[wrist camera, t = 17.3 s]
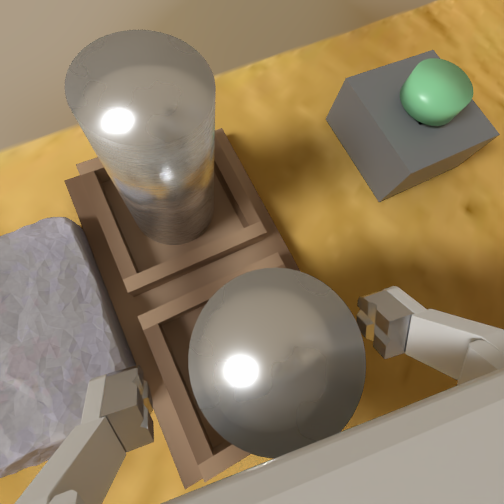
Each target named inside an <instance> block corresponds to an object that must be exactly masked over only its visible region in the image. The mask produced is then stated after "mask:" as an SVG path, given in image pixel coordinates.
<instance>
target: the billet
mask: <svg viewBox="0 0 504 504" xmlns="http://www.w3.org/2000/svg"><path fill="white" fill-rule="evenodd" d="M188 369H189V376H190V382H191V386H192V390H193V393H194V396H195V399H196V401H197V403H198V406H199V408H200V409H201V411H202V413H203V415H204V416H205V418H206V419H207V421H208V422H209V423H210V424H211V426H212V427H213V428H214V429H215V430H216V431H217V432H218V433H219V434H220V435H221V436H222V437H223V438H224V439H226V440H227V441H228V442H230V443H231V444H233V445H234V446H236V447H238V448H240V449H242V450H243V451H245V452H248V453H251V454H254V455H257V456H261V457H267V458H277V457H279V456H282V455H284V454H287V453H289V452H292V451H294V450H297V449H300V448H302V447H305V446H307V445H310V444H312V443H315V442H317V441H320V440H322V439H325V438H327V437H330V436H332V435H335V434H337V433H340V431H341V430H342V429H343V428H344V427H345V426H346V424H347V423H348V422H349V420H350V418H351V417H352V415H353V414H354V412H355V410H356V408H357V406H358V403H359V401H360V398H361V395H362V392H363V387H364V382H365V374H366V356H365V349H364V343H363V339H362V336H361V332H360V329H359V327H358V325H357V322H356V320H355V318H354V316H353V315H352V313H351V311H350V310H349V308H348V307H347V305H346V304H345V303H344V301H343V300H342V299H341V298H340V297H339V296H338V295H337V294H336V293H335V292H334V291H333V290H332V289H331V288H330V287H328V286H327V285H326V284H324V283H323V282H321V281H320V280H318V279H316V278H314V277H312V276H310V275H308V274H306V273H303V272H300V271H297V270H292V269H287V268H264V269H258V270H254V271H250V272H247V273H244V274H242V275H240V276H238V277H236V278H234V279H233V280H231V281H229V282H228V283H226V284H225V285H224V286H223V287H221V288H220V289H219V290H218V291H217V292H216V293H215V294H214V295H213V296H212V297H211V298H210V299H209V301H208V302H207V304H206V305H205V306H204V308H203V309H202V311H201V313H200V315H199V317H198V319H197V321H196V324H195V326H194V329H193V332H192V336H191V340H190V345H189V354H188Z"/></svg>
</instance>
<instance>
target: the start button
mask: <svg viewBox="0 0 504 504" xmlns="http://www.w3.org/2000/svg"><path fill="white" fill-rule="evenodd" d="M472 97H473V86H472V83H471V81H470V79H469V78H468V76H467V75H466V74H465V72H464V71H463V70H461V69H460V68H459V67H458V66H456V65H455V64H453V63H451V62H449V61H446V60H443V59H437V58H431V59H426V60H423V61H421V62H420V63H419V64H418V65H417V66H416V67H415V69H414V70H413V71H412V73H411V74H410V75H409V77H408V78H407V80H406V81H405V82H404V84H403V85H402V87H401V89H400V100H401V103H402V105H403V107H404V109H405V110H406V112H407V113H408V114H409V115H410V116H411V117H413V118H414V119H416V121H417V122H418V124H419V125H422V124H426V125H431V126H441V125H445V124H447V123H448V122H450V121H451V120H452V119H453V118H454V117H455V116H456V115H457V114H458V113H459V112H460V111H461V110H462V109H463V108H464V107H466V106H467V105H468V104H469V103H470V101H471V100H472Z"/></svg>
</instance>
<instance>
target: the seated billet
mask: <svg viewBox="0 0 504 504" xmlns="http://www.w3.org/2000/svg"><path fill="white" fill-rule="evenodd" d="M65 94H66V99H67V102H68V105H69V107H70V109H71V111H72V113H73V114H74V116H75V118H76V120H77V121H78V123H79V125H80V127H81V128H82V130H83V132H84V133H85V135H86V137H87V139H88V140H89V142H90V144H91V145H92V147H93V149H94V151H95V152H96V154H97V156H98V158H99V159H100V161H101V163H102V164H103V166H104V168H105V170H106V171H107V173H108V175H109V177H110V178H111V180H112V182H113V183H114V185H115V187H116V189H117V190H118V192H119V194H120V196H121V197H122V199H123V201H124V202H125V204H126V206H127V208H128V209H129V211H130V213H131V214H132V216H133V218H134V220H135V221H136V223H137V225H138V227H139V228H140V229H141V231H142V232H143V233H144V234H145V235H146V236H147V237H149V238H150V239H152V240H153V241H156V242H158V243H161V244H166V245H181V244H185V243H188V242H191V241H193V240H195V239H196V238H198V237H199V236H201V235H202V234H203V233H204V232H205V231H206V229H207V228H208V226H209V225H210V223H211V220H212V217H213V202H214V142H215V80H214V76H213V74H212V71H211V69H210V67H209V65H208V64H207V62H206V60H205V59H204V58H203V57H202V55H201V54H200V53H199V52H198V51H196V50H195V49H194V48H193V47H192V46H190V45H188V44H187V43H186V42H184V41H182V40H180V39H178V38H176V37H173V36H171V35H168V34H164V33H161V32H156V31H149V30H129V31H121V32H116V33H113V34H110V35H106V36H104V37H102V38H99V39H97V40H96V41H94V42H92V43H90V44H89V45H88V46H86V47H85V48H84V49H83V50H82V51H81V52H79V53H78V55H77V56H76V57H75V58H74V60H73V61H72V63H71V65H70V67H69V69H68V72H67V74H66V79H65Z"/></svg>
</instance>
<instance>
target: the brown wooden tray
mask: <svg viewBox="0 0 504 504" xmlns="http://www.w3.org/2000/svg"><path fill="white" fill-rule="evenodd" d="M76 166H77V169H78V171H79V174H80V176H77V177H74V178H71V179H68V180H65V183H66V186H67V189H68V191H69V194H70V196H71V199H72V201H73V204H74V207H75V209H76V212H77V214H78V217H79V219H80V222H81V224H82V227H83V230H84V232H85V235H86V237H87V240H88V242H89V245H90V247H91V250H92V253H93V255H94V258H95V260H96V263H97V265H98V268H99V271H100V273H101V276H102V278H103V281H104V283H105V286H106V288H107V291H108V294H109V296H110V299H111V301H112V304H113V306H114V309H115V311H116V314H117V317H118V319H119V322H120V324H121V327H122V329H123V332H124V335H125V337H126V340H127V342H128V345H129V347H130V350H131V352H132V355H133V358H134V360H135V363H136V365H140V366H141V368H142V370H143V372H144V380H145V381H147V382H148V384H149V387H150V390H151V395H152V401H153V409H154V411H155V414H156V416H157V419H158V422H159V424H160V427H161V429H162V432H163V434H164V437H165V440H166V442H167V445H168V447H169V450H170V452H171V455H172V457H173V460H174V463H175V465H176V468H177V470H178V473H179V475H180V478H181V481H182V483H183V486H184V488H185V489H186V488H188V487H190V486H191V485H193V484H194V483H196V482H198V481H199V480H201V479H204V482H206V481H208V480H210V479H211V478H213V477H214V476H216V475H218V474H219V473H221V472H222V471H224V470H226V469H227V468H229V467H230V466H232V465H234V464H235V463H237V462H239V461H240V460H242V459H243V458H245V457H247V456H248V455H250V454H251V453H248V452H245V451H243V450H242V449H240V448H238V447H236V446H234V445H233V444H231V443H230V442H228V441H227V440H226V439H224V438H223V437H222V436H221V435H220V434H219V433H218V432H217V431H216V430H215V429H214V428H213V427H212V426H211V424H210V423H209V422H208V421H207V419H206V418H205V416H204V415H203V413H202V411H201V409H200V408H199V406H198V403H197V401H196V399H195V396H194V393H193V390H192V386H191V382H190V376H189V369H188V354H189V345H190V340H191V336H192V332H193V329H194V326H195V324H196V321H197V319H198V317H199V315H200V313H201V311H202V309H203V308H204V306H205V305H206V304H207V302H208V301H209V299H210V298H211V297H212V296H213V295H214V294H215V293H216V292H217V291H218V290H219V289H220V288H221V287H223V286H224V285H225V284H226V283H228V282H229V281H231V280H233V279H234V278H236V277H238V276H240V275H242V274H244V273H247V272H250V271H254V270H258V269H264V268H287V269H292V270H297V271H300V270H299V268H298V266H297V264H296V263H295V261H294V259H293V257H292V255H291V253H290V252H289V250H288V248H287V246H286V244H285V242H284V241H283V239H282V237H281V235H280V233H279V232H278V230H277V228H276V226H275V224H274V222H273V221H272V219H271V217H270V215H269V213H268V211H267V210H266V208H265V206H264V204H263V202H262V200H261V199H260V197H259V195H258V193H257V191H256V189H255V188H254V186H253V184H252V182H251V180H250V178H249V177H248V175H247V173H246V171H245V169H244V167H243V166H242V164H241V162H240V160H239V158H238V157H237V155H236V153H235V151H234V149H233V147H232V146H231V144H230V142H229V140H228V138H227V136H226V135H225V133H224V131H223V129H222V128H221V129H218V130H215V142H214V202H213V217H212V220H211V223H210V225H209V226H208V228H207V229H206V231H205V232H204V233H203V234H202V235H201V236H199V237H198V238H196V239H195V240H193V241H191V242H188V243H185V244H181V245H166V244H161V243H158V242H156V241H153V240H152V239H150V238H149V237H147V236H146V235H145V234H144V233H143V232H142V231H141V229H140V228H139V227H138V225H137V223H136V221H135V220H134V218H133V216H132V214H131V213H130V211H129V209H128V208H127V206H126V204H125V202H124V201H123V199H122V197H121V196H120V194H119V192H118V190H117V189H116V187H115V185H114V183H113V182H112V180H111V178H110V177H109V175H108V173H107V171H106V170H105V168H104V166H103V164H102V163H101V161H100V159H99V158H98V157H97V158H94V159H91V160H88V161H85V162H82V163H79V164H76Z"/></svg>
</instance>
